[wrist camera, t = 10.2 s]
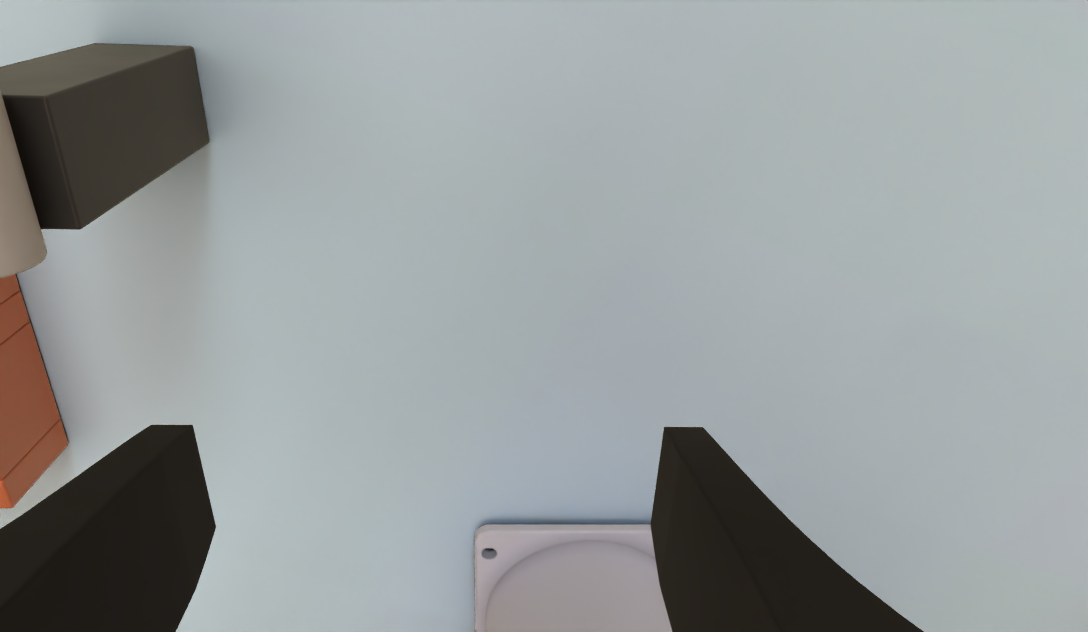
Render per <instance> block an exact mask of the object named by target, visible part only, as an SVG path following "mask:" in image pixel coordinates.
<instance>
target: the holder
mask: <svg viewBox="0 0 1088 632" xmlns="http://www.w3.org/2000/svg"><path fill="white" fill-rule="evenodd" d="M19 290H20V287H19V284H18V281H17V278H16V275H11V276H8V277H4V278H0V508H13V507H14V506H15V505H16V504H17V503H18V501H19V500H20V499H21V498H22V497H23V496H24V495H25V493H26V492H27V491H28V490H29V489H30V488H31V487H32V485H33V484H34V483H35V482H36V481H37V480H38V479H39V477H40V476H41V475H42V474H43V473H44V472H45V471H46V469H47V468H48V467H49V466H50V465H51V464H52V463H53V462H54V460H55V459H56V458H57V457H58V456H59V455H60V454H61V452H62V451H63V450H64V449H65V448H66V447H67V446H68V440H67V437H66V434H65V431H64V428H63V424H62V421H61V419H60V415H59V412H58V408H57V405H56V402H55V399H54V396H53V393H52V389H51V386H50V383H49V380H48V377H47V373H46V370H45V367H44V364H43V361H42V358H41V354H40V351H39V348H38V345H37V342H36V339H35V335H34V332H33V329H32V326H31V323H30V322H29V316H28V313H27V310H26V307H25V304H24V300H23V297H22V294H21V292H20V291H19Z"/></svg>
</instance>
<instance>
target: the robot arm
mask: <svg viewBox="0 0 1088 632" xmlns="http://www.w3.org/2000/svg"><path fill="white" fill-rule="evenodd" d="M215 528H216V525H215V521H214V517H213V512H212V508H211V503H210V499H209V495H208V490H207V486H206V481H205V477H204V473H203V468H202V464H201V460H200V455H199V451H198V446H197V442H196V438H195V433H194V429H193V425H151V426H149V427H147V428H146V429H144V430H143V431H141V432H139V433H138V434H136V435H135V436H133V437H132V438H130V439H129V440H128V441H126V442H125V443H123V444H122V445H120V446H119V447H118V448H116V449H115V450H113V451H112V452H110V453H109V454H108V455H106V456H105V457H103V458H102V459H101V460H99V461H98V462H96V463H95V464H94V465H92V466H91V467H89V468H88V469H87V470H85V471H84V472H82V473H81V474H80V475H78V476H77V477H75V478H74V479H73V480H71V481H70V482H68V483H67V484H65V485H64V486H63V487H61V488H60V489H58V490H57V491H56V492H54V493H53V494H51V495H50V496H48V497H47V498H46V499H44V500H43V501H41V502H40V503H38V504H37V505H36V506H34V507H33V508H31V509H30V510H28V511H27V512H26V513H24V514H23V515H21V516H20V517H18V518H17V519H15V520H13V521H12V522H10V523H9V524H7V525H6V526H4V527H3V528H1V529H0V632H176V630H177V628H178V625H179V623H180V621H181V619H182V617H183V615H184V613H185V611H186V609H187V607H188V604H189V602H190V600H191V598H192V596H193V594H194V592H195V589H196V587H197V584H198V581H199V578H200V575H201V572H202V569H203V566H204V563H205V560H206V557H207V554H208V551H209V548H210V544H211V541H212V538H213V535H214V532H215ZM486 548H492V549H494V550H492V551H487V550H485V549H486ZM475 632H923V631H922V630H921V629H919V628H918V627H916V626H915V625H914V624H912V623H911V622H910V621H908V620H907V619H905V618H904V617H903V616H901V615H900V614H899V613H897V612H896V611H895V610H894V609H892V608H891V607H890V606H888V605H887V604H886V603H885V602H883V601H882V600H881V599H880V598H878V597H877V596H876V595H874V594H873V593H872V592H871V591H869V590H868V589H867V588H866V587H864V586H863V585H862V584H860V583H859V582H858V581H857V580H856V579H854V578H853V577H852V576H851V575H850V574H848V573H847V572H846V571H845V570H844V569H842V568H841V567H840V566H839V565H838V564H837V563H836V562H834V561H833V560H832V559H831V558H830V557H829V556H828V555H827V554H826V553H825V552H823V551H822V550H821V549H820V548H819V547H818V546H817V545H816V544H815V543H813V542H812V541H811V540H810V539H809V538H808V537H807V536H806V535H805V534H804V533H803V532H802V531H801V530H800V529H798V528H797V527H796V526H795V525H794V524H793V523H792V522H791V521H790V520H789V519H788V518H787V517H786V516H785V515H784V514H783V513H782V512H781V511H780V510H779V509H778V508H777V507H776V506H775V505H774V504H773V503H772V502H771V501H770V500H769V499H768V498H767V496H766V495H765V494H764V493H763V492H762V491H761V490H760V489H759V488H758V487H757V486H756V485H755V484H754V483H753V482H752V481H751V479H750V478H749V477H748V476H747V475H746V474H745V473H744V472H743V471H742V470H741V469H740V468H739V466H738V465H737V464H736V463H735V462H734V461H733V460H732V459H731V458H730V456H729V455H728V454H727V453H726V452H725V451H724V450H723V449H722V448H721V447H720V445H719V444H718V443H717V442H716V441H715V440H714V439H713V438H712V437H711V436H710V435H709V433H708V432H707V431H706V430H705V429H704V428H703V427H664V433H663V440H662V447H661V454H660V461H659V468H658V476H657V483H656V490H655V497H654V504H653V511H652V519H651V524H489V525H483V526H481V527H479V528H478V530H477V531H476V533H475Z"/></svg>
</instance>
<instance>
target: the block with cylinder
mask: <svg viewBox="0 0 1088 632" xmlns="http://www.w3.org/2000/svg"><path fill="white" fill-rule="evenodd" d="M208 143H209V138H208V132H207V126H206V120H205V114H204V108H203V103H202V97H201V91H200V85H199V79H198V73H197V67H196V61H195V55H194V50H193V47H191V46H165V45H134V44H104V43H94V44H90V45H86V46H82V47H78V48H74V49H70V50H66V51H62V52H58V53H54V54H50V55H46V56H42V57H38V58H34V59H30V60H26V61H22V62H18V63H14V64H10V65H6V66H2V67H0V278H4V277H8V276H11V275H15V274H18V273H20V272H23V271H26V270H28V269H30V268H32V267H34V266H36V265H38V264H39V263H41V262H42V261H43V260H44V259H45V257H46V254H47V249H46V246H45V243H44V239H43V236H42V232H41V229H82V228H83V227H85V226H86V225H88V224H89V223H91V222H92V221H94V220H95V219H97V218H98V217H100V216H101V215H103V214H104V213H105V212H107V211H108V210H110V209H111V208H113V207H114V206H116V205H117V204H119V203H120V202H122V201H123V200H125V199H126V198H128V197H129V196H131V195H132V194H134V193H135V192H137V191H138V190H140V189H141V188H143V187H144V186H146V185H147V184H148V183H150V182H151V181H153V180H154V179H156V178H157V177H159V176H160V175H162V174H163V173H165V172H166V171H168V170H169V169H171V168H172V167H174V166H175V165H177V164H178V163H180V162H181V161H183V160H184V159H186V158H187V157H189V156H190V155H192V154H193V153H194V152H196V151H197V150H199V149H200V148H202V147H203V146H205V145H206V144H208Z"/></svg>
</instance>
